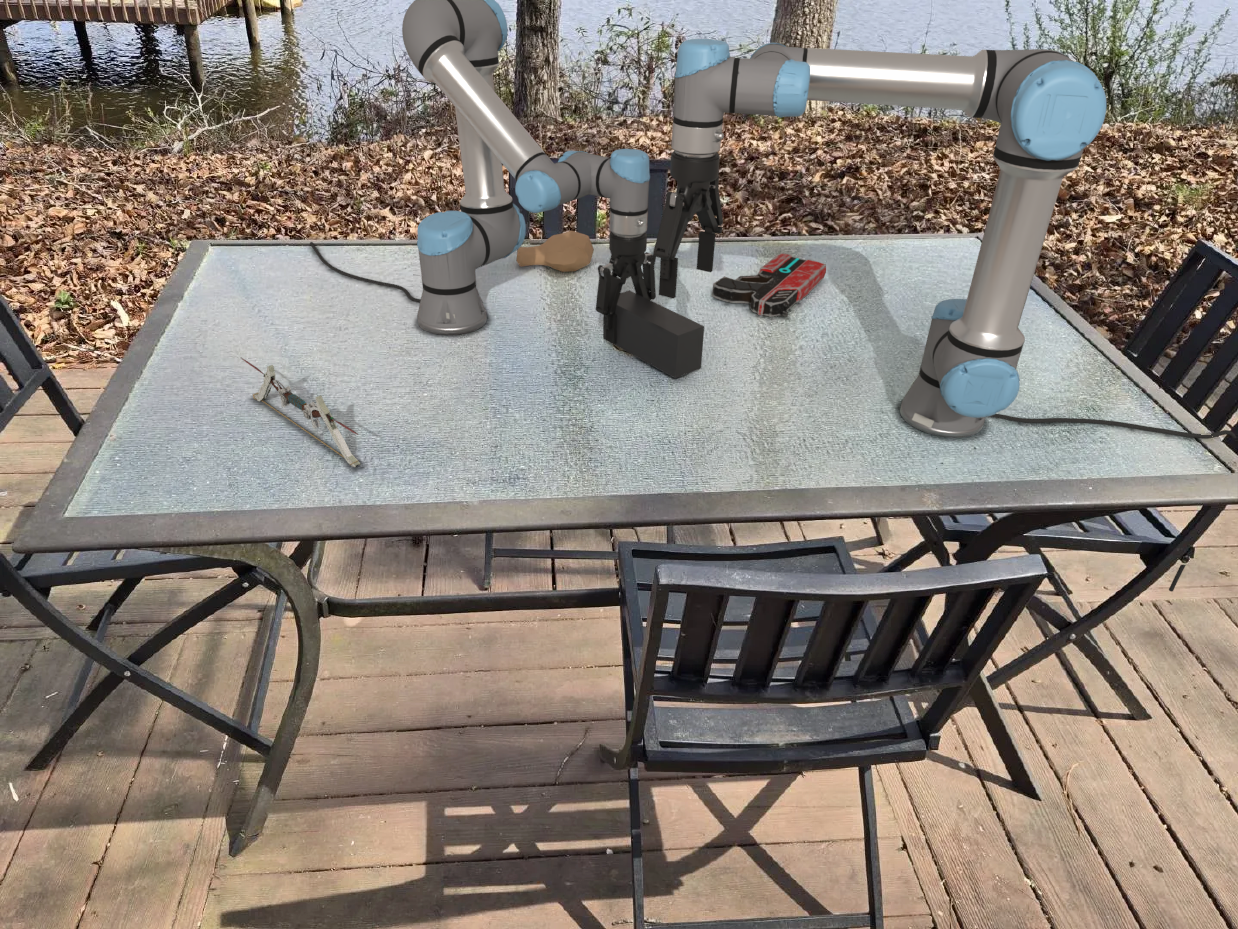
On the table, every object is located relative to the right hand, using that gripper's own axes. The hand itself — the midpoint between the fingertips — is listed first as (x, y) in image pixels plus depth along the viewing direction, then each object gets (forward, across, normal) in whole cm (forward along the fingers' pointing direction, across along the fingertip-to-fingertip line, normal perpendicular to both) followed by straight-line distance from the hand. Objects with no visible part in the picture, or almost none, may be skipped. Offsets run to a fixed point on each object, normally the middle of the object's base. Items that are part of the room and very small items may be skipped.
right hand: (686, 282), depth 146 cm
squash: (+28, +53, +63) cm, 87 cm away
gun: (+28, +70, +10) cm, 76 cm away
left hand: (+26, +23, +25) cm, 42 cm away
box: (+26, +20, +17) cm, 37 cm away
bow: (+28, -38, +55) cm, 73 cm away
